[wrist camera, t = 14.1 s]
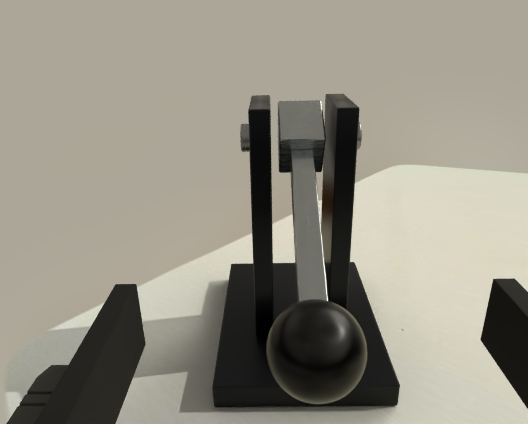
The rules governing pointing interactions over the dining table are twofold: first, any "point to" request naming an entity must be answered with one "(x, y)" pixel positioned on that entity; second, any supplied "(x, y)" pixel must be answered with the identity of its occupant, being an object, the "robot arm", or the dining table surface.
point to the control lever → (311, 278)
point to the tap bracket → (284, 274)
